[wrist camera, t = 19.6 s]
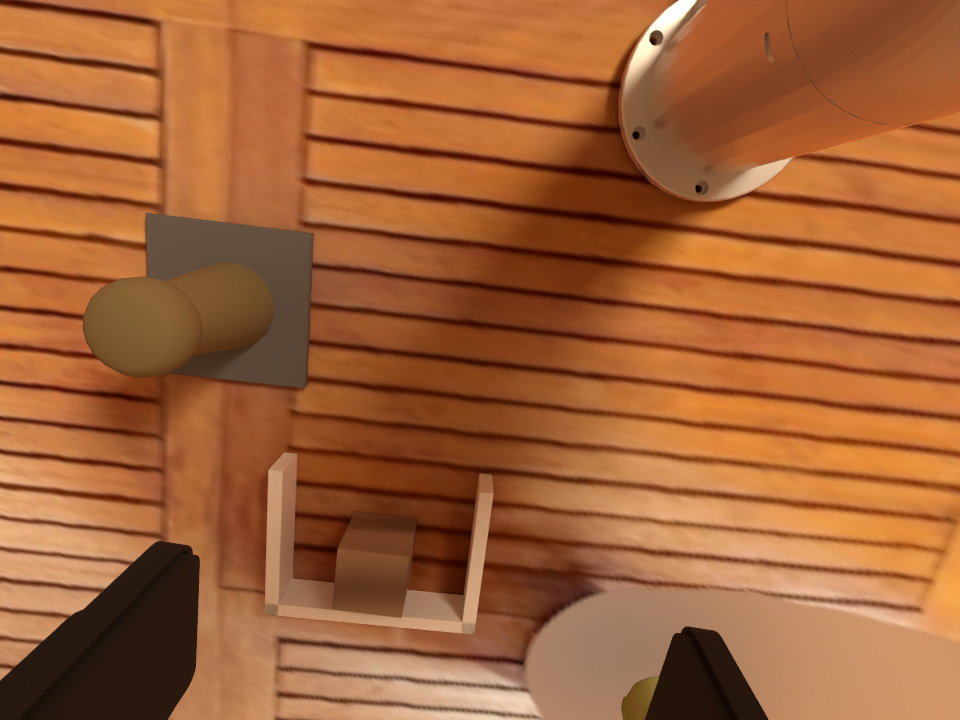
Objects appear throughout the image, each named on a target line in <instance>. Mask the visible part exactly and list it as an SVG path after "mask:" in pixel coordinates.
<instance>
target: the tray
mask: <svg viewBox="0 0 960 720" xmlns="http://www.w3.org/2000/svg"><path fill="white" fill-rule="evenodd" d="M297 455H298V454H294V453H285V452H284V453H283V454H282V456H281V457H280V458H279V459H278V460H277V461H276V462H275V463H274V464H273V465H272V467H271V468H270V469H269V470H268V506H267V545H266V585H265V615H274V616H285V617H295V618H306V619H316V620H327V621H337V622H348V623H358V624H369V625H379V626H390V627H400V628H411V629H421V630H432V631H442V632H453V633H463V634H474V630H475V623H476V616H477V609H478V601H479V594H480V587H481V580H482V573H483V566H484V559H485V551H486V544H487V537H488V530H489V523H490V516H491V509H492V501H493V494H494V493H493V479H492V475H490V474H481V473H479V480H478V488H477V495H476V503H475V510H474V518H473V526H472V533H471V541H470V549H469V556H468V564H467V571H466V579H465V587H464V594H463V595H456V594H446V593H436V592H425V591H415V590H407V593H406V598H405V603H404V608H403V614H402V618H396V617H388V616H380V615H371V614H363V613H355V612H346V611H338V610H332V604H333V593H334V582H323V581H313V580H303V579H293V556H294V531H295V505H296V480H297Z"/></svg>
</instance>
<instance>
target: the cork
mask: <svg viewBox="0 0 960 720" xmlns="http://www.w3.org/2000/svg"><path fill="white" fill-rule="evenodd" d="M273 315H274V304H273V298H272V294H271V292H270V290H269V289H268V287H267V285H266V283H265V282H264V281H263V280H262V279H261V277H260V276H259V275H258V274H257V273H256V272H254V271H253V270H251V269H249V268H247V267H246V266H244V265H241V264H237V263H232V262H220V263H214V264H211V265H208V266H205V267H202V268H200V269H197V270H194V271H191V272H189V273H186V274H183V275H180V276H177V277H175V278H172V279H169V280H166V281H162V280H158V279H154V278H149V277H133V278H122V279H119V280H117V281H115V282H113V283H110V284H108V285H106V286H104V287H102V288H101V289H100V290H99V291H98V292H97V293H96V294H95V295H94V296H93V297H92V298H91V299H90V301H89V304H88V306H87V308H86V311H85V313H84V315H83V331H84V335H85V339H86V342H87V344H88V346H89V347H90V349H91V350H92V352H93V354H94V355H95V356H96V357H97V358H98V359H99V360H100V361H101V362H102V363H104V364H105V365H106V366H108V367H110V368H112V369H114V370H116V371H118V372H119V373H122V374H124V375H128V376H133V377H138V378H143V377H156V376H162V375H165V374H167V373H169V372H172V371H174V370H176V369H178V368H181V367H182V366H183V365H184V364H185V363H186V362H187V361H188V360H189V359H190V358H191V357H192V356H193V355H198V354H204V353H211V352H217V351H223V350H229V349H235V348H241V347H246V346H249V345H251V344H253V343H256V342H258V341H259V340H260V339H261V338H262V337H263V336H264V335H265V334H266V333H267V332H268V330H269V328H270V326H271V324H272V322H273Z"/></svg>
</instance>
